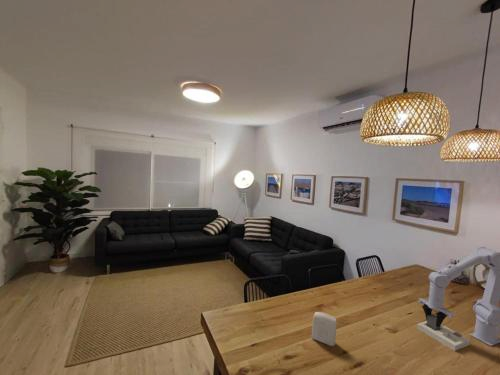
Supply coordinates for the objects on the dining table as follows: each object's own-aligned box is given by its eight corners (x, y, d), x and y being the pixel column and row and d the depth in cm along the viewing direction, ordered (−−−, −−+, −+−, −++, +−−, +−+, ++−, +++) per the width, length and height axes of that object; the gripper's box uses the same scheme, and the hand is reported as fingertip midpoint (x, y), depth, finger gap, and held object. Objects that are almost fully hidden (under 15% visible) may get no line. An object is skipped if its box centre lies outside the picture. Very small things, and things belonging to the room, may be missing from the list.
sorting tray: (431, 323, 124) (432, 318, 123) (469, 344, 109) (470, 338, 109) (417, 328, 119) (417, 322, 119) (454, 351, 104) (455, 344, 104)
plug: (431, 326, 120) (432, 313, 120) (440, 331, 116) (441, 318, 116) (426, 328, 119) (427, 315, 118) (435, 333, 115) (436, 319, 114)
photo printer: (335, 342, 105) (338, 315, 104) (334, 348, 101) (336, 320, 101) (312, 333, 110) (314, 308, 109) (310, 338, 106) (312, 312, 106)
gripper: (415, 291, 121) (413, 316, 122) (448, 306, 108) (445, 334, 109) (424, 289, 124) (421, 313, 125) (457, 303, 111) (454, 331, 112)
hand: (433, 323), depth 117 cm, fingers closed on plug, 4 cm apart
